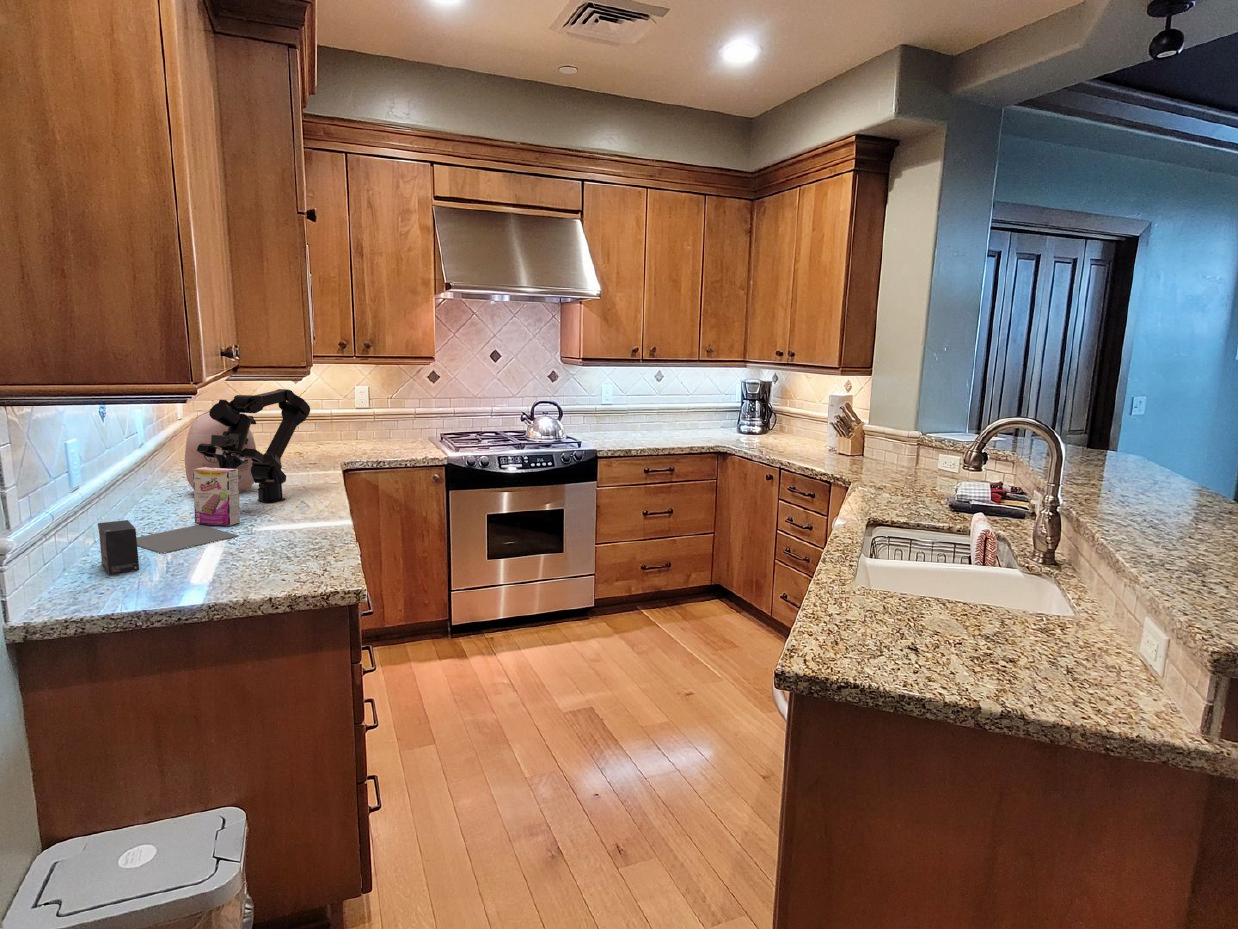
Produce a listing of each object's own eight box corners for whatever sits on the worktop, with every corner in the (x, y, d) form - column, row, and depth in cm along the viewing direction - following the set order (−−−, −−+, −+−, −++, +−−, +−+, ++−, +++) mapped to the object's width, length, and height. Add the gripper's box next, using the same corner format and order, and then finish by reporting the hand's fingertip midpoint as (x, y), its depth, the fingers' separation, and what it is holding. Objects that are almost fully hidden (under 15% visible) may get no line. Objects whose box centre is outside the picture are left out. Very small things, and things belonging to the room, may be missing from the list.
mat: (199, 525, 204) (199, 524, 204) (238, 536, 194) (238, 535, 194) (123, 541, 187) (123, 540, 187) (161, 554, 177) (161, 553, 177)
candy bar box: (193, 524, 204) (191, 468, 202) (205, 521, 209) (203, 467, 207) (229, 526, 203) (228, 470, 201) (240, 523, 208) (239, 468, 206)
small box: (141, 570, 165) (137, 527, 163) (108, 576, 161) (103, 532, 159) (133, 559, 173) (128, 518, 171) (100, 565, 168) (96, 522, 167)
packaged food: (250, 485, 260) (244, 404, 255) (266, 494, 246) (260, 409, 241) (182, 492, 246) (174, 407, 240) (195, 502, 231) (187, 412, 226)
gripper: (193, 419, 212) (177, 467, 207) (252, 425, 211) (237, 474, 206) (214, 432, 223) (199, 479, 218) (270, 438, 222) (256, 485, 217)
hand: (222, 479), depth 214 cm, fingers closed
